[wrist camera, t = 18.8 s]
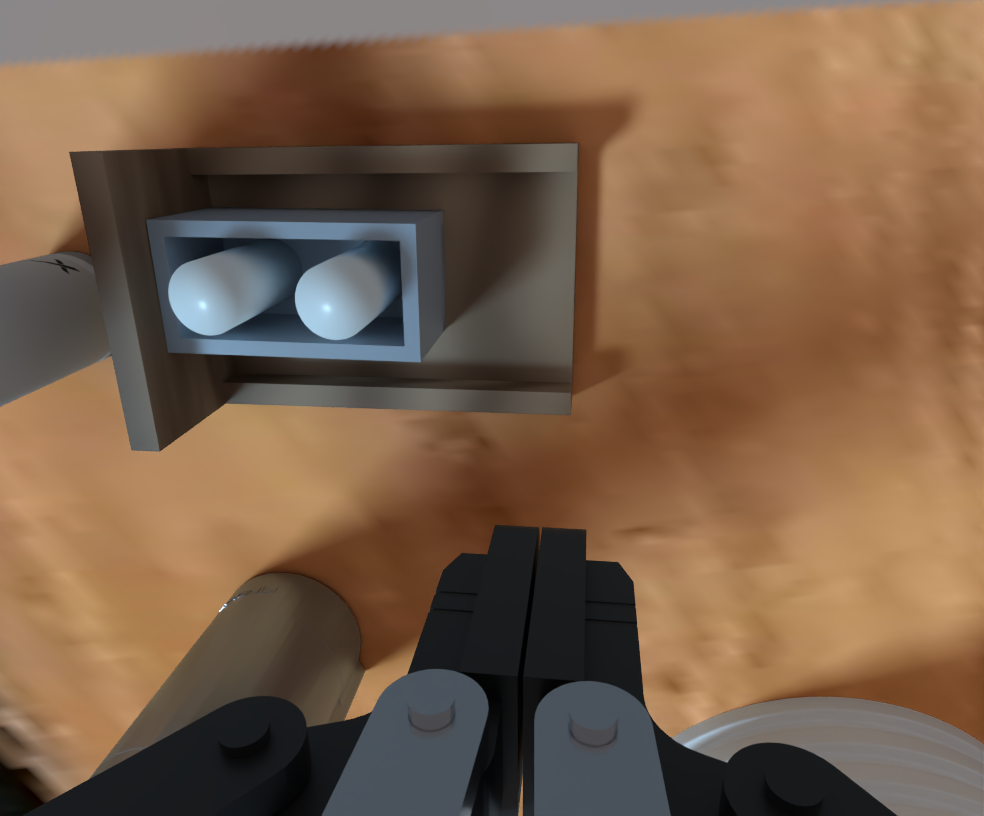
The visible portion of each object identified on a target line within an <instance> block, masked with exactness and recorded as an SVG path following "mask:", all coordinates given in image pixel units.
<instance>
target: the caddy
mask: <svg viewBox="0 0 984 816" xmlns="http://www.w3.org/2000/svg"><path fill="white" fill-rule="evenodd" d="M146 223H147V229H148V235H149V241H150V247H151V253H152V259H153V265H154V271H155V277H156V283H157V289H158V295H159V301H160V307H161V313H162V319H163V325H164V331H165V337H166V343H167V349H168V353H194V354H220V355H246V356H272V357H298V358H324V359H350V360H376V361H402V362H421V361H422V360H423V358H424V357H425V356H426V355H427V353H428V352H429V351H430V349H431V348H432V347H433V345H434V344H435V343H436V341H437V340H438V339H439V337H440V336H441V335H442V333H443V332H444V331H445V329H446V301H445V260H444V218H443V210H409V209H327V208H245V207H211V208H206V209H201V210H196V211H190V212H185V213H180V214H175V215H169V216H164V217H159V218H154V219H148V220H146Z"/></svg>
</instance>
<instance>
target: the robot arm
mask: <svg viewBox="0 0 984 816" xmlns="http://www.w3.org/2000/svg"><path fill="white" fill-rule="evenodd" d="M360 647H361V638H360V630H359V627H358V624H357V621H356V619H355V617H354V615H353V614H352V612H351V610H350V609H349V607H348V606H347V605H346V604H345V602H344V601H343V600H342V599H341V598H340V597H339V596H338V595H337V594H335V593H334V592H333V591H332V590H330V589H329V588H328V587H326V586H324V585H323V584H321V583H319V582H317V581H315V580H313V579H310V578H307V577H304V576H301V575H297V574H290V573H269V574H265V575H261V576H257V577H255V578H253V579H251V580H249V581H247V582H245V583H244V584H243V585H242V586H241V587H240V588H239V589H238V590H237V591H236V592H235V593H234V594H233V596H232V597H231V598H230V599H229V601H228V602H227V603H226V604H225V605H224V606H223V607H222V608H221V610H220V611H219V613H218V615H217V616H216V617H215V619H214V620H213V621H212V622H211V624H210V625H209V626H208V627H207V629H206V630H205V631H204V632H203V634H202V635H201V636H200V638H199V639H198V640H197V641H196V643H195V644H194V645H193V646H192V648H191V649H190V650H189V652H188V653H187V654H186V655H185V657H184V658H183V659H182V661H181V662H180V663H179V664H178V666H177V667H176V668H175V670H174V671H173V672H172V673H171V675H170V676H169V677H168V679H167V680H166V681H165V682H164V684H163V685H162V686H161V687H160V689H159V690H158V691H157V693H156V694H155V695H154V696H153V698H152V699H151V700H150V702H149V703H148V704H147V705H146V707H145V708H144V709H143V711H142V712H141V713H140V714H139V716H138V717H137V718H136V719H135V721H134V722H133V723H132V725H131V726H130V727H129V728H128V730H127V731H126V732H125V734H124V735H123V736H122V737H121V739H120V740H119V741H118V743H117V744H116V745H115V746H114V748H113V749H112V750H111V751H110V753H109V754H108V755H107V757H106V758H105V759H104V760H103V762H102V763H101V764H100V766H99V767H98V768H97V769H96V771H95V772H94V773H93V775H92V776H91V777H90V779H89V780H87V781H85V782H83V783H82V784H80V785H78V786H76V787H74V788H72V789H71V790H69V791H67V792H65V793H63V794H62V795H60V796H58V797H56V798H54V799H52V800H51V801H49V802H47V803H45V804H43V805H42V806H40V807H38V808H36V809H34V810H32V811H31V812H29V813H27V814H25V815H23V816H518V812H519V803H520V794H521V785H522V776H523V816H897V815H896V814H895V813H893V812H892V811H891V810H890V809H888V808H887V807H886V806H885V805H883V804H882V803H881V802H879V801H878V800H877V799H876V798H874V797H873V796H872V795H871V794H869V793H868V792H867V791H865V790H864V789H863V788H862V787H860V786H859V785H858V784H856V783H855V782H854V781H853V780H851V779H850V778H849V777H848V776H846V775H845V774H844V773H842V772H841V771H840V770H839V769H837V768H836V767H835V766H833V765H832V764H831V763H829V762H828V761H826V760H825V759H823V758H821V757H819V756H818V755H816V754H814V753H812V752H809V751H807V750H805V749H802V748H799V747H796V746H792V745H788V744H782V743H771V742H766V743H757V744H753V745H749V746H747V747H745V748H742V749H740V750H739V751H738V752H736V753H735V754H734V755H733V756H732V757H731V758H730V759H729V761H728V763H727V762H724V761H721V760H718V759H716V758H713V757H710V756H707V755H704V754H702V753H699V752H696V751H694V750H692V749H689V748H687V747H685V746H683V745H682V744H680V743H678V742H676V741H675V740H674V739H672V738H671V737H669V736H668V735H667V734H666V733H665V732H663V731H662V730H661V729H660V728H659V727H658V725H657V724H656V723H655V722H654V721H653V719H652V718H651V716H650V714H649V713H648V710H647V708H646V705H645V701H644V695H643V684H642V673H641V662H640V651H639V640H638V629H637V617H636V608H635V595H634V584H633V581H632V580H631V578H630V577H629V576H628V574H627V573H626V572H625V570H624V569H623V568H622V566H621V565H620V564H619V563H618V562H606V561H589V560H586V530H582V529H564V528H545V527H543V528H542V534H541V542H540V532H539V527H524V526H505V525H495V528H494V531H493V535H492V539H491V543H490V547H489V551H488V555H485V554H469V553H461V554H460V555H459V556H458V557H457V558H456V559H455V560H454V561H453V562H452V563H451V564H449V565H448V566H447V567H446V568H445V569H444V570H443V572H442V575H441V578H440V581H439V584H438V587H437V590H436V595H435V596H434V599H433V602H432V604H431V607H430V613H428V616H427V619H426V622H425V625H424V628H423V631H422V634H421V636H420V639H419V642H418V645H417V648H416V651H415V654H414V657H413V660H412V663H411V666H410V668H409V671H408V674H407V675H406V676H403V677H401V678H400V679H398V680H396V681H395V682H393V683H392V684H391V685H390V686H388V687H387V688H386V689H385V690H384V692H383V693H382V694H381V696H380V697H379V699H378V700H377V703H376V705H375V707H374V709H373V711H372V712H370V713H368V714H366V715H363V716H360V717H357V718H354V719H349V720H345V718H346V715H347V713H348V710H349V708H350V706H351V703H352V701H353V699H354V696H355V694H356V692H357V689H358V687H359V685H360V682H361V680H362V677H363V675H364V673H365V670H364V668H363V667H362V665H361V663H360V661H359V653H360ZM344 720H345V721H344Z"/></svg>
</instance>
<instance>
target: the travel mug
mask: <svg viewBox="0 0 984 816" xmlns="http://www.w3.org/2000/svg"><path fill="white" fill-rule="evenodd" d="M109 356H112V354H111V349H110V345H109V340H108V335H107V330H106V325H105V321H104V316H103V311H102V306H101V301H100V297H99V292H98V287H97V282H96V277H95V273H94V268H93V263H92V258H91V256H89V255H87V254H84V253H80V252H75V251H63V252H58V253H54V254H49V255H45V256H40V257H36V258H31V259H27V260H22V261H17V262H13V263H8V264H4V265H0V407H1V406H3V405H5V404H7V403H9V402H12V401H14V400H16V399H18V398H20V397H22V396H25V395H27V394H29V393H31V392H33V391H36V390H38V389H40V388H42V387H44V386H46V385H49V384H51V383H53V382H55V381H57V380H59V379H62V378H64V377H66V376H68V375H70V374H73V373H75V372H77V371H79V370H81V369H83V368H86V367H88V366H90V365H92V364H94V363H96V362H99V361H101V360H103V359H105V358H107V357H109Z"/></svg>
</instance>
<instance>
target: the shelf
mask: <svg viewBox="0 0 984 816" xmlns="http://www.w3.org/2000/svg"><path fill="white" fill-rule="evenodd" d="M69 153H70V158H71V162H72V167H73V172H74V177H75V181H76V186H77V191H78V196H79V201H80V205H81V210H82V215H83V220H84V225H85V229H86V234H87V239H88V244H89V249H90V253H91V258H92V263H93V268H94V273H95V277H96V282H97V287H98V292H99V297H100V301H101V306H102V311H103V316H104V321H105V325H106V330H107V335H108V340H109V345H110V349H111V354H112V359H113V364H114V369H115V373H116V378H117V383H118V388H119V393H120V397H121V402H122V407H123V412H124V417H125V421H126V426H127V431H128V436H129V441H130V445H131V450H136V451H159V452H160V451H161V450H163V449H164V448H165V447H167V446H168V445H169V444H171V443H172V442H174V441H175V440H176V439H178V438H179V437H180V436H182V435H183V434H184V433H186V432H187V431H189V430H190V429H191V428H193V427H194V426H195V425H197V424H198V423H200V422H201V421H202V420H204V419H205V418H206V417H208V416H209V415H210V414H212V413H213V412H215V411H216V410H217V409H219V408H220V407H221V406H223V405H224V404H225V403H229V404H258V405H287V406H316V407H346V408H375V409H404V410H433V411H462V412H491V413H520V414H550V415H570V414H571V402H572V375H573V338H574V301H575V264H576V227H577V190H578V153H579V143H526V144H451V145H376V146H300V147H225V148H173V149H143V150H113V151H83V152H69ZM211 207H245V208H327V209H409V210H443V218H444V260H445V301H446V329H445V331H444V332H443V333H442V335H441V336H440V337H439V339H438V340H437V341H436V343H435V344H434V345H433V347H432V348H431V349H430V351H429V352H428V353H427V355H426V356H425V357H424V358H423V360H422V361H421V362H402V361H376V360H350V359H324V358H298V357H272V356H246V355H220V354H194V353H168V349H167V343H166V337H165V331H164V325H163V319H162V313H161V307H160V301H159V295H158V289H157V283H156V277H155V271H154V265H153V259H152V253H151V247H150V241H149V235H148V229H147V223H146V220H148V219H154V218H159V217H164V216H169V215H175V214H180V213H185V212H190V211H196V210H201V209H206V208H211Z"/></svg>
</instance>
